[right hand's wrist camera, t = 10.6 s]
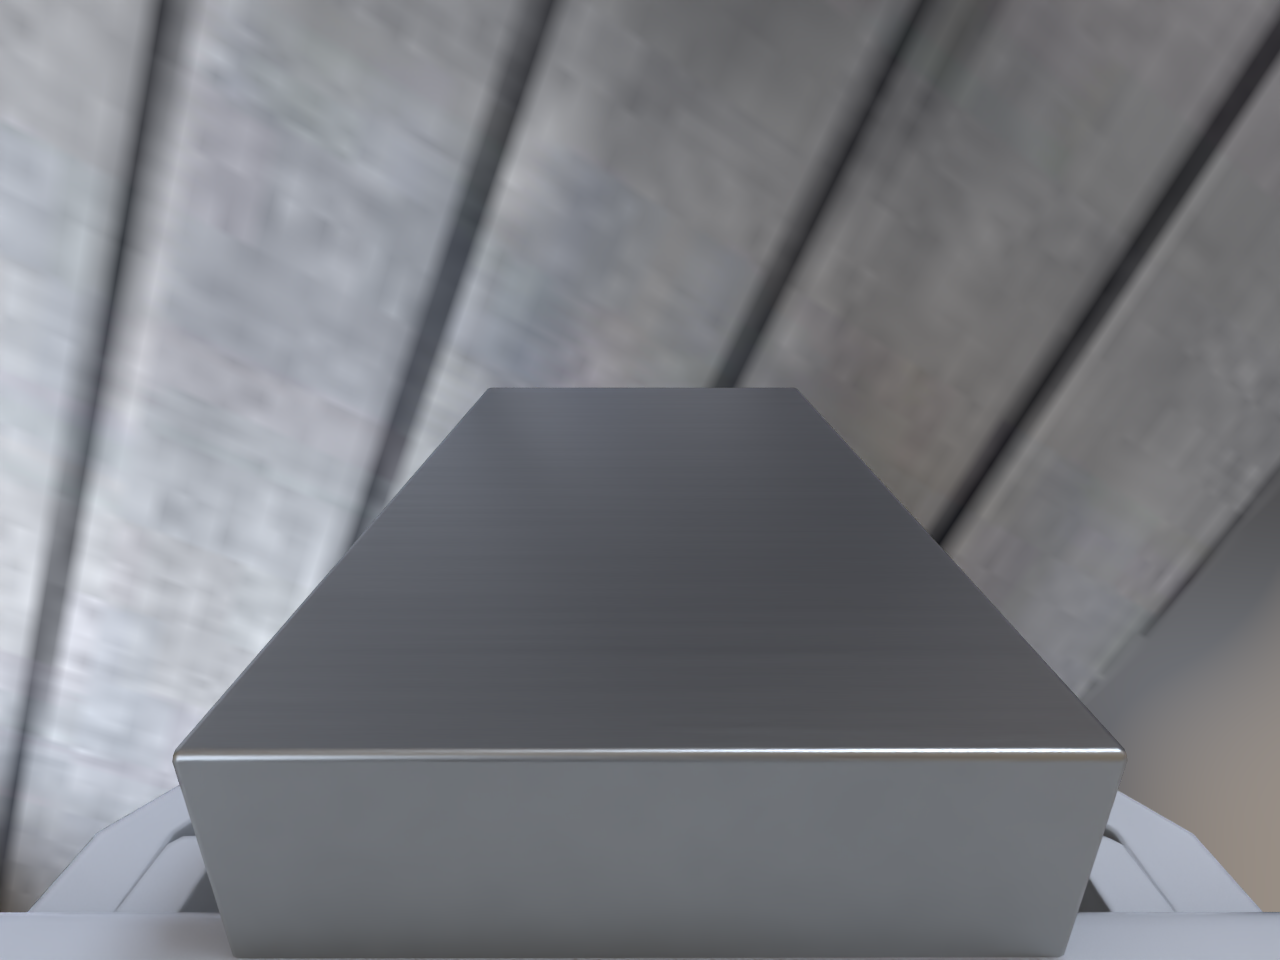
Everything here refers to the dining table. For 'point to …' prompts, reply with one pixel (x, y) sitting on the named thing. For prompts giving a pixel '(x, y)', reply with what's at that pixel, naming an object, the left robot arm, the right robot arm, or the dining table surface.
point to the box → (647, 713)
